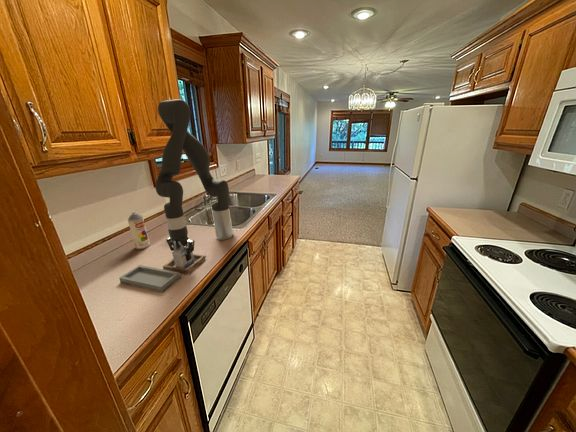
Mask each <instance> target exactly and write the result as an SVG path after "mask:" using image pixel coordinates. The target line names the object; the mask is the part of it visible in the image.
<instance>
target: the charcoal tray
mask: <svg viewBox="0 0 576 432" xmlns="http://www.w3.org/2000/svg"><path fill="white" fill-rule="evenodd" d="M118 279H119V283H121V284H125V285H127V286H128V285H129V286H133V287H138V288H141V289H146V290H151V291H156V292H161V293H164V292H165V291H167V289H169V288H170V287H171V286H172V285H174V284H175V283H176V282H177V281H178V280H179V279H181V273H180V272H174V271H169V270H164V269H163V268H157V267H152V266H146V265H143V264H139V265H138V266H136V267H134V268H133V269H130V270H129V271H128V272H126V273H124V274H123V275H121V276H119V278H118Z"/></svg>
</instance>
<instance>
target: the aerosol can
mask: <svg viewBox="0 0 576 432" xmlns="http://www.w3.org/2000/svg"><path fill="white" fill-rule="evenodd" d="M144 220H145V219H144V217H143V215H140V214H138V213H137V212H136V211H135V210H134V211H131V214H130V215H129V217H128V218H127V223H128V225H129V229H130V232H131V236H132V239H133V244H134V246H135V249H136V250H145V249H147V248H149V247H150V246H151V242H150V238H149V235H148V231H147V227H146V223H145V221H144Z"/></svg>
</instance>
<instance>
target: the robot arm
mask: <svg viewBox="0 0 576 432" xmlns="http://www.w3.org/2000/svg"><path fill="white" fill-rule="evenodd" d="M157 111H158V115H159V117H160V119H161V120H162V122H163V123H164V124H165V126H166V128H167V129H168V130H169V132H171V135H170V137H169V139H168V141H167V143H166V145H165V146H164V148H163V152H162V154H161V155H162V157H161V169H160V171H159V173H158V175H157V179H156V182H155V187H154V188H155V191H156V192H155V193H156V194H157V195H158V196H160V197H161V198H168V199H169V202H167V203H165V204H164V206H163V209H164V215H165V220H166V227H167V230H168V235H169V237H168V238H166V243H167V245H168V247H169V250H170V251H171V252H173V251H175V250H176V249H178V248H179V247H181V248H182V250H184V252H185V256H186V261H189V260H190V259H191V252H194V251H195V243H196V242H195V240H194V239H190V238H189V237H188V234H189V231H188V227H187V226H188V225H187V222H186V218H185V214H184V209H183V199H184V188H183V186H182V184H181V183H180V182H179V181H177V180H173V178H174V177H175V176H178V175H180V172H181V166H182V155H183V152H184V155H185V156H186V158H187V159H188V161H189V163H190V164H191V166H192V167H193V169H194V171H195V173H196V174H197V176H198V178H199V180H200V182H201V184H202V185H203V188H204V191H205V192H206V194H207V195H208V196H210V197H215V198H217V201H215V202H213V203H211V212H212V218H213V219H212V220H213V225H214V230H215V237H216V239H217V240H220V241H224V240H229V239H230V238H232V237H233V234H234V231H233V222H232V219H231V212H230V189H229V183H228V182H227V181H226V180H224V179H215V178H214V177H213V176H212V175H211V172H210V166H211V159H210V158H211V157H210V155H209V153H208V151H207V149H206V147H205V146H204V144H203V143H202V142H201V141H200V140H199V139H197V137H196V136H194V135H193V134H191V133H190V132H189V131H188V129H189V125H190V121H191V108H190V106H189V104H188V102H187V101H185V100H184V99H179V98H178V99H167V100H162V101H160V102H159V103H158V106H157ZM184 246H186V247H184ZM186 249H187V250H188V251H187V250H186Z"/></svg>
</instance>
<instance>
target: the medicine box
mask: <svg viewBox="0 0 576 432" xmlns="http://www.w3.org/2000/svg"><path fill="white" fill-rule="evenodd" d="M184 247H186V246H184ZM186 250H187V249H186ZM187 251H188V250H187ZM171 252H172V259H174V262H175V264H174V267H177V268H183V269H187V268H188V267H189V266H191V265H192V264H193V263H194V261H195V259H194V257H193V254H194V253H193V252H194V251H193V252H191V259H190V260H189V261H186V256H185V252H184V250H182V248H181V247H179V248H178V249H176V250H175V251H171Z"/></svg>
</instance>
